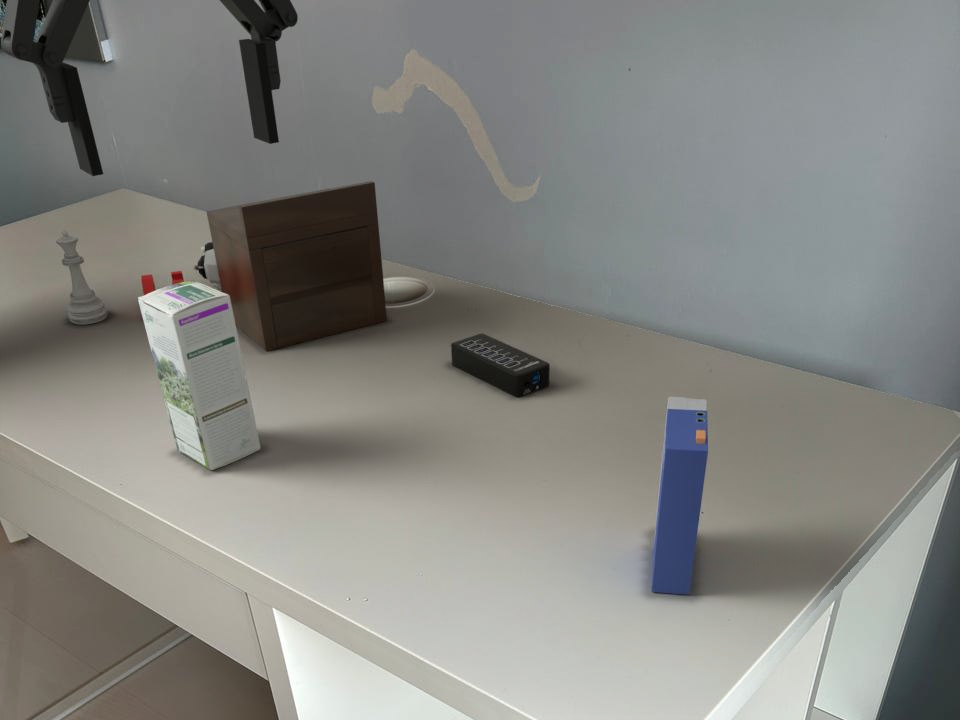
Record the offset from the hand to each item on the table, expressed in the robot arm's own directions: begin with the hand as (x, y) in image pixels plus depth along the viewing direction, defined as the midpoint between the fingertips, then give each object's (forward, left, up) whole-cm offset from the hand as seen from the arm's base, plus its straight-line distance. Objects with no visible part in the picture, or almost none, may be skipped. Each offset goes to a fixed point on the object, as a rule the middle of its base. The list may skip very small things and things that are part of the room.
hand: (182, 155), depth 72 cm
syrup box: (-3, -1, -26) cm, 26 cm away
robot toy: (-46, +19, -26) cm, 56 cm away
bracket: (-42, +7, -26) cm, 50 cm away
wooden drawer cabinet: (-28, +19, -25) cm, 43 cm away
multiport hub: (-2, +29, -26) cm, 39 cm away
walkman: (+34, +21, -26) cm, 47 cm away
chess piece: (-44, -2, -26) cm, 51 cm away
